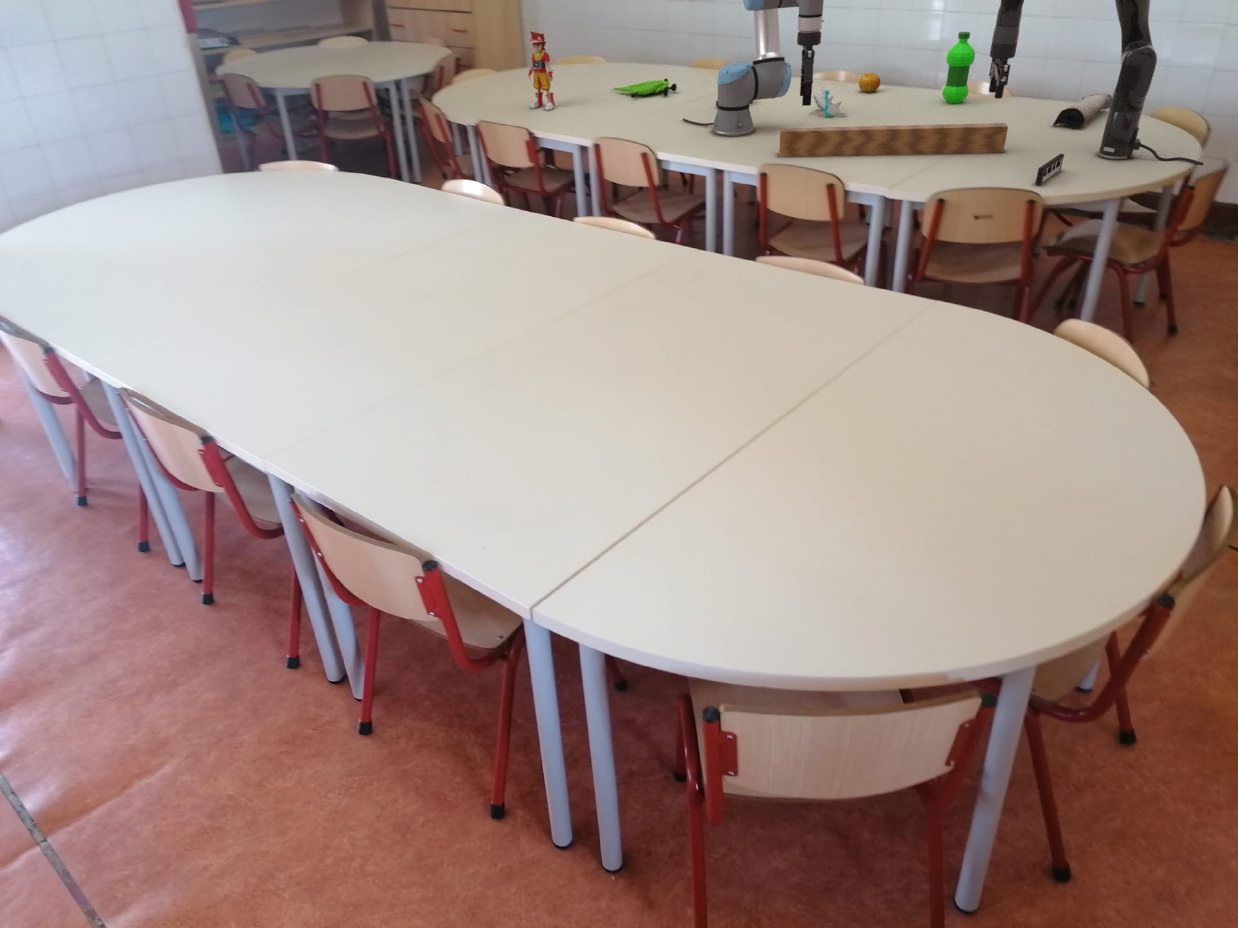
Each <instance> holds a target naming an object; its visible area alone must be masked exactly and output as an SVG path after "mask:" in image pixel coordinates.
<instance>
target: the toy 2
mask: <svg viewBox="0 0 1238 928" xmlns="http://www.w3.org/2000/svg"><path fill="white" fill-rule="evenodd" d="M669 85H670V83H669V79H668V78H664V79H663V80H649V81H644V82H640V83H634V84H629V85H627V86H621V87H613V88H612V89H613V90H616V91H619V92H623V93H627V94H628V93H629V94H631V95H630V96H631V98H632V99H634V98H636V96H637V95H650V94H652V93H654V94H658V93H662V95H663V96H665V97H667V96H668V95H669V90H671V91H672V92H676V91H677V84H676V83H672V84H671V86H669Z"/></svg>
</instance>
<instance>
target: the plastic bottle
mask: <svg viewBox="0 0 1238 928" xmlns="http://www.w3.org/2000/svg"><path fill="white" fill-rule="evenodd" d="M970 36H971V32H970V31H959V32H958V36H957V39H958V42H957V43H956V44H954V45H953V46H952V47H951V48H950V49H949V50H948V52H947V54H946V63H947V64H948V69H947V70H948V71H947V76H946V77H947V78H946V84H945V85H944V87H943V90H942V97H943V99H944V100H945V101H946V102H947V103H948V104H960V103H961V102H963V101H964V100H966V98H967V96H968V95H969V85H968V79H969V73H970V67H971V65H972V64H973V63H974V61H975V57H976V51H975V49H974V47H972V45H971V44H970V43H969V42H968V41H969V39H970V38H971V37H970Z"/></svg>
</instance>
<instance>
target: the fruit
mask: <svg viewBox="0 0 1238 928" xmlns="http://www.w3.org/2000/svg"><path fill="white" fill-rule="evenodd" d="M880 85H881V78H880V76H879V75H878V74H876V73H873V72H869V73H864V74H863V75H862V76H860V78H859V80H858V88H859V89H860V90H861V91H862V92H864V93H873V92H875V91H877V90H878V89H879V87H880Z"/></svg>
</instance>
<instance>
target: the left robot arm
mask: <svg viewBox="0 0 1238 928" xmlns="http://www.w3.org/2000/svg"><path fill="white" fill-rule="evenodd" d="M824 1H825V0H742V3H743V7H744V9H745V10H746V11H749V12H751V11H753V19H754V20H753V21H754V35H755V36H754V37H755V57H754V59H753V60H752V65H751V63H750V62H748V61H736V62H732V63H727V64H725V65H723V66H722V67H720V69H719V70H718V75H717V100H718V107H717V111H716V114H715V118H714V120H713V122H707V123H705V122H698V121H697V122H696V121H692V120H689V119H686V118H682V121H683V122H687V123H690V124H694V125H698V126H712V133H713V134H715V135H717V136H721V137H741V136H746V135H750V134H752V133H754V122H753V118H752V115H751V111H750V103H749V101H750V100H754V101H759V100H770V99H771V100H772V99H773V100H774V99H777V98H782V97H784V96H786V94H787V93H788V92H789V89H790V87H791V81H792V68H791V64H790V63H789V62H787V61H786V59H785V56H784V54H783V53H782V52H781V43H780V42H781V41H780V24H779V23H780V22H779V21H780V19H779V9H786V8H788V9H789V8H798V15H797V31H798V32H797V36H796V44H797V45H798V46H801V47H802V50H801V67H800V74H801V75H800V85H799V88H800V89H799V97H802V102H801V104H802V107H806V106H811V105H812V93H813V84H814V64H815V55H816V51H815V49H813V47H814V46H818V45H820V44H821V43H822V42H821V41H822V32H821V30H822V25H823V24H822V23H824V22H825V19H824V18H823V12H824Z"/></svg>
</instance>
